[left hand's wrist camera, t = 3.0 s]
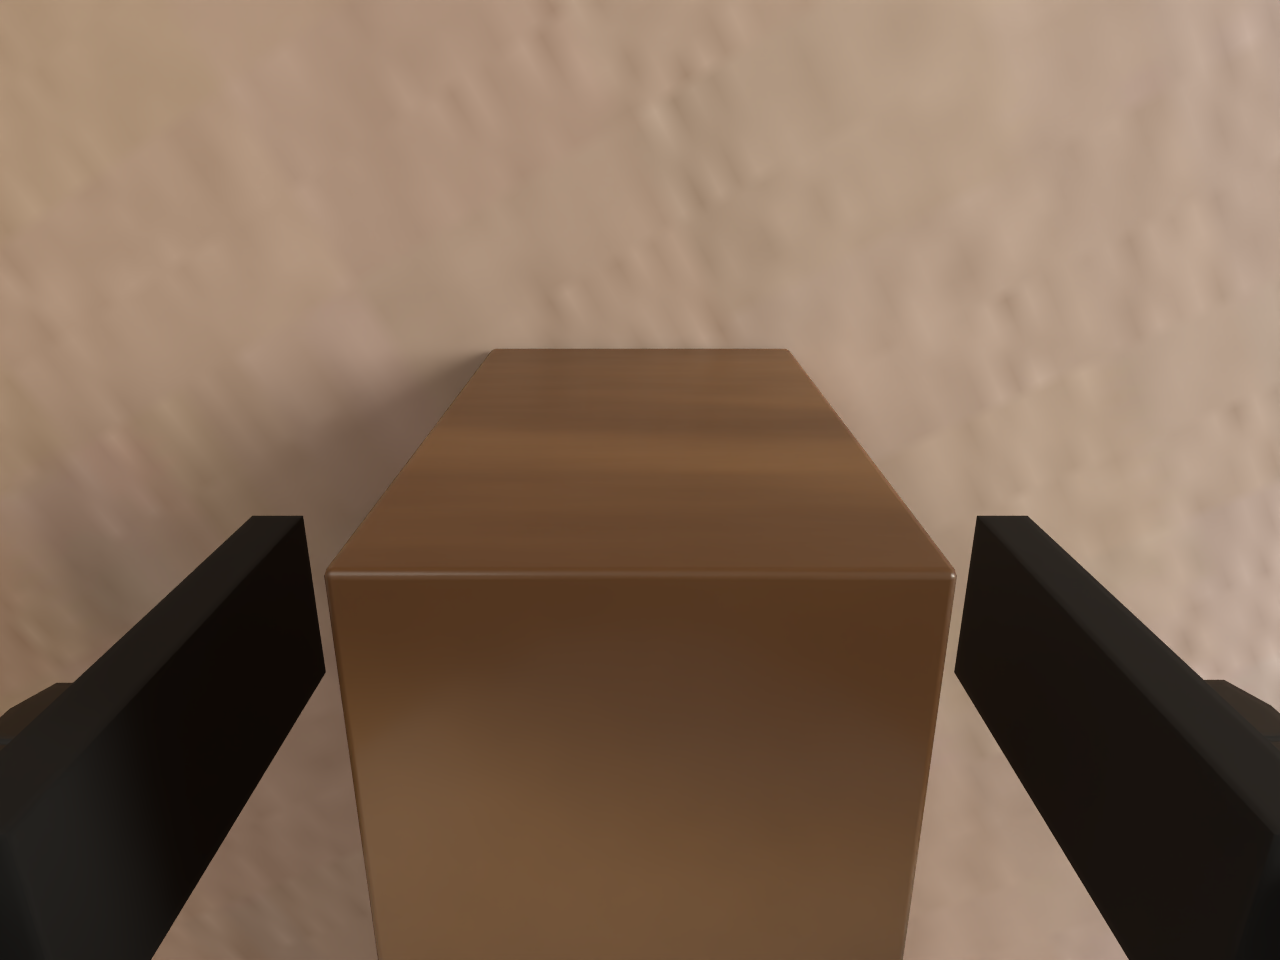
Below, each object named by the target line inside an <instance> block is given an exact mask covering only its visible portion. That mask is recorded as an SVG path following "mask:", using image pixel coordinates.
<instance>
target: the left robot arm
mask: <svg viewBox="0 0 1280 960" xmlns="http://www.w3.org/2000/svg"><path fill="white" fill-rule="evenodd" d="M954 672H955V674H956V676H957V677H958V679H959V681H960V682H961V684H962V686H963V687H964V689H965V691H966V692H967V694H968V696H969V697H970V699H971V700H972V702H973V704H974V705H975V707H976V709H977V710H978V712H979V714H980V715H981V717H982V719H983V720H984V722H985V724H986V725H987V727H988V728H989V730H990V732H991V733H992V735H993V737H994V738H995V740H996V742H997V743H998V745H999V747H1000V748H1001V750H1002V751H1003V753H1004V755H1005V756H1006V758H1007V760H1008V761H1009V763H1010V765H1011V766H1012V768H1013V770H1014V771H1015V773H1016V775H1017V776H1018V778H1019V779H1020V781H1021V783H1022V784H1023V786H1024V788H1025V789H1026V791H1027V793H1028V794H1029V796H1030V798H1031V799H1032V801H1033V802H1034V804H1035V806H1036V807H1037V809H1038V811H1039V812H1040V814H1041V816H1042V817H1043V819H1044V821H1045V822H1046V824H1047V826H1048V827H1049V829H1050V830H1051V832H1052V834H1053V835H1054V837H1055V839H1056V840H1057V842H1058V844H1059V845H1060V847H1061V849H1062V850H1063V852H1064V854H1065V855H1066V857H1067V858H1068V860H1069V862H1070V863H1071V865H1072V867H1073V868H1074V870H1075V872H1076V873H1077V875H1078V877H1079V878H1080V880H1081V881H1082V883H1083V885H1084V886H1085V888H1086V890H1087V891H1088V893H1089V895H1090V896H1091V898H1092V900H1093V901H1094V903H1095V905H1096V906H1097V908H1098V909H1099V911H1100V913H1101V914H1102V916H1103V918H1104V919H1105V921H1106V923H1107V924H1108V926H1109V928H1110V929H1111V931H1112V932H1113V934H1114V936H1115V937H1116V939H1117V941H1118V942H1119V944H1120V946H1121V947H1122V949H1123V951H1124V952H1125V954H1126V956H1127V957H1128V959H1129V960H1280V713H1279V712H1278V711H1277V710H1275V709H1274V708H1273V707H1272V706H1271V705H1269V704H1267V703H1265V702H1263V701H1262V700H1260V699H1258V698H1256V697H1254V696H1252V695H1251V694H1249V693H1247V692H1245V691H1243V690H1242V689H1240V688H1238V687H1236V686H1234V685H1232V684H1231V683H1229V682H1227V681H1225V680H1203V679H1202V678H1201V677H1200V676H1199V675H1198V674H1197V673H1196V672H1195V671H1194V670H1192V669H1191V668H1190V667H1189V666H1188V665H1187V664H1186V663H1185V662H1184V661H1183V660H1182V659H1181V658H1180V657H1178V656H1177V655H1176V654H1175V653H1174V652H1173V651H1172V650H1171V649H1170V648H1169V647H1168V646H1167V645H1166V644H1165V643H1163V642H1162V641H1161V640H1160V639H1159V638H1158V637H1157V636H1156V635H1155V634H1154V633H1153V632H1152V631H1151V630H1149V629H1148V628H1147V627H1146V626H1145V625H1144V624H1143V623H1142V622H1141V621H1140V620H1139V619H1138V618H1137V617H1136V616H1134V615H1133V614H1132V613H1131V612H1130V611H1129V610H1128V609H1127V608H1126V607H1125V606H1124V605H1123V604H1122V603H1121V602H1119V601H1118V600H1117V599H1116V598H1115V597H1114V596H1113V595H1112V594H1111V593H1110V592H1109V591H1108V590H1107V589H1105V588H1104V587H1103V586H1102V585H1101V584H1100V583H1099V582H1098V581H1097V580H1096V579H1095V578H1094V577H1093V576H1092V575H1090V574H1089V573H1088V572H1087V571H1086V570H1085V569H1084V568H1083V567H1082V566H1081V565H1080V564H1079V563H1078V562H1076V561H1075V560H1074V559H1073V558H1072V557H1071V556H1070V555H1069V554H1068V553H1067V552H1066V551H1065V550H1064V549H1063V548H1061V547H1060V546H1059V545H1058V544H1057V543H1056V542H1055V541H1054V540H1053V539H1052V538H1051V537H1050V536H1049V535H1048V534H1046V533H1045V532H1044V531H1043V530H1042V529H1041V528H1040V527H1039V526H1038V525H1037V524H1036V523H1035V522H1034V521H1032V520H1031V519H1030V518H1029V517H1028V516H977V520H976V527H975V534H974V540H973V547H972V554H971V561H970V568H969V575H968V582H967V588H966V595H965V602H964V609H963V616H962V623H961V630H960V637H959V643H958V650H957V657H956V664H955V671H954ZM325 673H326V671H325V664H324V657H323V650H322V643H321V636H320V630H319V623H318V616H317V609H316V602H315V595H314V588H313V581H312V575H311V568H310V561H309V554H308V547H307V540H306V533H305V527H304V520H303V516H252V517H251V518H250V519H249V520H248V521H246V522H245V523H244V524H243V525H242V526H241V527H240V528H239V529H238V530H237V531H236V532H235V533H234V534H233V535H231V536H230V537H229V538H228V539H227V540H226V541H225V542H224V543H223V544H222V545H221V546H220V547H219V548H217V549H216V550H215V551H214V552H213V553H212V554H211V555H210V556H209V557H208V558H207V559H206V560H205V561H204V562H202V563H201V564H200V565H199V566H198V567H197V568H196V569H195V570H194V571H193V572H192V573H191V574H190V575H188V576H187V577H186V578H185V579H184V580H183V581H182V582H181V583H180V584H179V585H178V586H177V587H176V588H175V589H173V590H172V591H171V592H170V593H169V594H168V595H167V596H166V597H165V598H164V599H163V600H162V601H161V602H160V603H158V604H157V605H156V606H155V607H154V608H153V609H152V610H151V611H150V612H149V613H148V614H147V615H146V616H144V617H143V618H142V619H141V620H140V621H139V622H138V623H137V624H136V625H135V626H134V627H133V628H132V629H131V630H129V631H128V632H127V633H126V634H125V635H124V636H123V637H122V638H121V639H120V640H119V641H118V642H117V643H115V644H114V645H113V646H112V647H111V648H110V649H109V650H108V651H107V652H106V653H105V654H104V655H103V656H102V657H100V658H99V659H98V660H97V661H96V662H95V663H94V664H93V665H92V666H91V667H90V668H89V669H88V670H87V671H85V672H84V673H83V674H82V675H81V676H80V677H79V678H78V679H77V680H76V681H75V682H74V683H56V684H54V685H52V686H50V687H48V688H47V689H45V690H43V691H41V692H39V693H38V694H36V695H34V696H32V697H30V698H28V699H27V700H25V701H23V702H21V703H19V704H18V705H16V706H14V707H12V708H10V709H9V710H8V711H7V712H6V713H5V714H3V715H2V716H1V717H0V960H151V959H152V957H153V956H154V954H155V952H156V951H157V949H158V947H159V946H160V944H161V942H162V941H163V939H164V937H165V936H166V934H167V933H168V931H169V929H170V928H171V926H172V924H173V923H174V921H175V919H176V918H177V916H178V914H179V913H180V911H181V909H182V908H183V906H184V905H185V903H186V901H187V900H188V898H189V896H190V895H191V893H192V891H193V890H194V888H195V886H196V885H197V883H198V882H199V880H200V878H201V877H202V875H203V873H204V872H205V870H206V868H207V867H208V865H209V863H210V862H211V860H212V858H213V857H214V855H215V854H216V852H217V850H218V849H219V847H220V845H221V844H222V842H223V840H224V839H225V837H226V835H227V834H228V832H229V830H230V829H231V827H232V826H233V824H234V822H235V821H236V819H237V817H238V816H239V814H240V812H241V811H242V809H243V807H244V806H245V804H246V803H247V801H248V799H249V798H250V796H251V794H252V793H253V791H254V789H255V788H256V786H257V784H258V783H259V781H260V779H261V778H262V776H263V775H264V773H265V771H266V770H267V768H268V766H269V765H270V763H271V761H272V760H273V758H274V756H275V755H276V753H277V752H278V750H279V748H280V747H281V745H282V743H283V742H284V740H285V738H286V737H287V735H288V733H289V732H290V730H291V728H292V727H293V725H294V724H295V722H296V720H297V719H298V717H299V715H300V714H301V712H302V710H303V709H304V707H305V705H306V704H307V702H308V700H309V699H310V697H311V696H312V694H313V692H314V691H315V689H316V687H317V686H318V684H319V682H320V681H321V679H322V677H323V676H324V674H325Z"/></svg>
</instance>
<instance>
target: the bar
mask: <svg viewBox="0 0 1280 960" xmlns="http://www.w3.org/2000/svg"><path fill="white" fill-rule="evenodd" d="M324 577H325V584H326V591H327V598H328V605H329V612H330V619H331V627H332V634H333V641H334V648H335V655H336V662H337V669H338V676H339V684H340V691H341V698H342V705H343V712H344V719H345V726H346V734H347V741H348V748H349V755H350V762H351V769H352V776H353V783H354V791H355V798H356V805H357V812H358V819H359V826H360V833H361V840H362V848H363V855H364V862H365V869H366V876H367V883H368V890H369V898H370V905H371V912H372V919H373V926H374V933H375V940H376V947H377V955H378V960H903V954H904V947H905V940H906V933H907V925H908V918H909V911H910V904H911V897H912V890H913V883H914V876H915V869H916V861H917V854H918V847H919V840H920V833H921V826H922V819H923V812H924V805H925V797H926V790H927V783H928V776H929V769H930V762H931V755H932V748H933V741H934V733H935V726H936V719H937V712H938V705H939V698H940V691H941V684H942V677H943V669H944V662H945V655H946V648H947V641H948V634H949V627H950V620H951V613H952V605H953V598H954V591H955V584H956V577H957V576H956V573H955V569H954V568H953V567H952V565H951V564H950V563H949V561H948V560H947V559H946V557H945V556H944V555H943V553H942V552H941V551H940V549H939V548H938V547H937V546H936V544H935V543H934V542H933V540H932V539H931V538H930V536H929V535H928V534H927V532H926V531H925V530H924V528H923V527H922V526H921V524H920V523H919V522H918V520H917V519H916V518H915V516H914V515H913V514H912V513H911V511H910V510H909V509H908V507H907V506H906V505H905V503H904V502H903V501H902V499H901V498H900V497H899V495H898V494H897V493H896V491H895V490H894V489H893V487H892V486H891V485H890V483H889V482H888V481H887V479H886V478H885V477H884V476H883V474H882V473H881V472H880V470H879V469H878V468H877V466H876V465H875V464H874V462H873V461H872V460H871V458H870V457H869V456H868V454H867V453H866V452H865V450H864V449H863V448H862V446H861V445H860V444H859V442H858V441H857V440H856V439H855V437H854V436H853V435H852V433H851V432H850V431H849V429H848V428H847V427H846V425H845V424H844V423H843V421H842V420H841V419H840V417H839V416H838V415H837V413H836V412H835V411H834V409H833V408H832V407H831V406H830V404H829V403H828V402H827V400H826V399H825V398H824V396H823V395H822V394H821V392H820V391H819V390H818V388H817V387H816V386H815V384H814V383H813V382H812V380H811V379H810V378H809V376H808V375H807V374H806V372H805V371H804V370H803V369H802V367H801V366H800V365H799V363H798V362H797V361H796V359H795V358H794V357H793V355H792V354H791V353H790V351H789V350H786V349H494V350H492V351H491V352H490V354H489V355H488V356H487V358H486V359H485V360H484V362H483V363H482V364H481V366H480V367H479V368H478V370H477V371H476V372H475V374H474V375H473V376H472V378H471V379H470V380H469V382H468V383H467V384H466V385H465V387H464V388H463V389H462V391H461V392H460V393H459V395H458V396H457V397H456V399H455V400H454V401H453V403H452V404H451V405H450V407H449V408H448V409H447V411H446V412H445V413H444V415H443V416H442V417H441V419H440V420H439V421H438V423H437V424H436V425H435V426H434V428H433V429H432V430H431V432H430V433H429V434H428V436H427V437H426V438H425V440H424V441H423V442H422V444H421V445H420V446H419V448H418V449H417V450H416V452H415V453H414V454H413V456H412V457H411V458H410V460H409V461H408V462H407V464H406V465H405V466H404V467H403V469H402V470H401V471H400V473H399V474H398V475H397V477H396V478H395V479H394V481H393V482H392V483H391V485H390V486H389V487H388V489H387V490H386V491H385V493H384V494H383V495H382V497H381V498H380V499H379V501H378V502H377V503H376V504H375V506H374V507H373V508H372V510H371V511H370V512H369V514H368V515H367V516H366V518H365V519H364V520H363V522H362V523H361V524H360V526H359V527H358V528H357V530H356V531H355V532H354V534H353V535H352V536H351V538H350V539H349V540H348V542H347V543H346V544H345V545H344V547H343V548H342V549H341V551H340V552H339V553H338V555H337V556H336V557H335V559H334V560H333V561H332V563H331V564H330V565H329V567H328V568H327V569H326V573H325V576H324Z"/></svg>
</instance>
